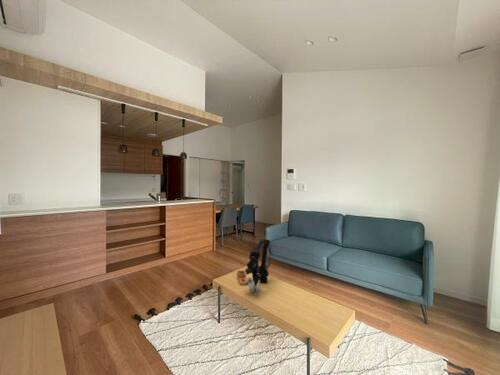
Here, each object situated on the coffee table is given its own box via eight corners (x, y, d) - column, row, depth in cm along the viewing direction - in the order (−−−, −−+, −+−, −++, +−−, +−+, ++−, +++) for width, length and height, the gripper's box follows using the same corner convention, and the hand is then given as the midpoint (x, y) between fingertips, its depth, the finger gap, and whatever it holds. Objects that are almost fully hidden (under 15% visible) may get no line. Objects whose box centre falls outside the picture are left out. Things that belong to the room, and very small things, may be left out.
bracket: (236, 277, 205) (236, 270, 204) (244, 276, 207) (244, 269, 207) (240, 286, 187) (240, 279, 187) (249, 285, 190) (249, 278, 189)
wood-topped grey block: (257, 289, 181) (257, 280, 181) (258, 291, 178) (258, 281, 178) (251, 290, 181) (251, 280, 180) (251, 292, 178) (251, 282, 177)
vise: (256, 282, 196) (256, 276, 196) (258, 287, 186) (258, 281, 186) (247, 282, 195) (248, 276, 195) (249, 287, 185) (249, 281, 185)
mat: (258, 289, 184) (258, 288, 184) (260, 294, 176) (260, 293, 176) (249, 289, 183) (249, 288, 183) (250, 294, 175) (250, 293, 175)
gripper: (244, 260, 187) (244, 277, 187) (247, 269, 168) (246, 288, 169) (257, 260, 188) (256, 277, 189) (260, 269, 169) (260, 288, 170)
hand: (254, 282), depth 179 cm, fingers open, 9 cm apart
